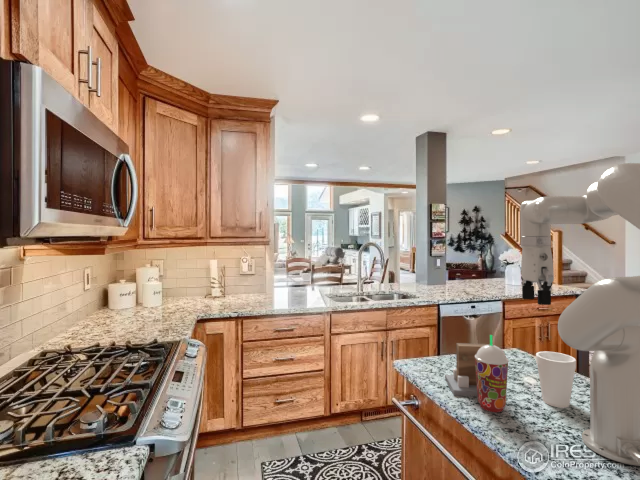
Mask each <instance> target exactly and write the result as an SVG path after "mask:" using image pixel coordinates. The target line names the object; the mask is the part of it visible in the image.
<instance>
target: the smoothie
mask: <svg viewBox="0 0 640 480" xmlns="http://www.w3.org/2000/svg"><path fill="white" fill-rule="evenodd" d="M475 365H476V379H477V393H478V397H477V401H478V403H479V405H480V407H481V409H483V410H484V411H487V412H490V413H501V412H503V411H504V408H505V407H506V403H507V390H508V389H507V388H508V387H507V385H508V373H509V372H508V370H509V359H508V358H507V355H506V353H505V352H504V350H502V348H500V347H499V346H497V345H495V344H493V334H489V344H487V345H484V346H482V347H481V348H480V349H479V350H478V351H477V354H476V355H475Z"/></svg>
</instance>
